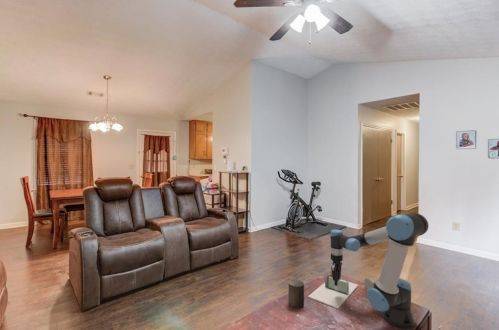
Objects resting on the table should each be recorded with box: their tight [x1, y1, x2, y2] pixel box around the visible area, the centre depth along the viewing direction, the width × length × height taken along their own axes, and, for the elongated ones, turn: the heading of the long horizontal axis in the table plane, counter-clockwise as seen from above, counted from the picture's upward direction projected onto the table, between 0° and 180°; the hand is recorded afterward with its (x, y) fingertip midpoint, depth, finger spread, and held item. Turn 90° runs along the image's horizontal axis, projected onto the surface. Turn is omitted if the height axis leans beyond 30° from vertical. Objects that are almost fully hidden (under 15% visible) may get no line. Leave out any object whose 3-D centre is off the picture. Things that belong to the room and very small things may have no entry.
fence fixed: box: [324, 271, 332, 288], centre depth 186 cm, size 17×2×8 cm, turn 139°
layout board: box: [307, 279, 359, 310], centre depth 176 cm, size 38×20×1 cm, turn 139°
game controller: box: [363, 277, 375, 291], centre depth 173 cm, size 20×2×8 cm, turn 11°
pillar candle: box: [287, 278, 305, 309], centre depth 160 cm, size 10×10×15 cm
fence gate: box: [329, 277, 350, 294], centre depth 175 cm, size 14×2×8 cm, turn 50°
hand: (336, 289), depth 167 cm, fingers closed
